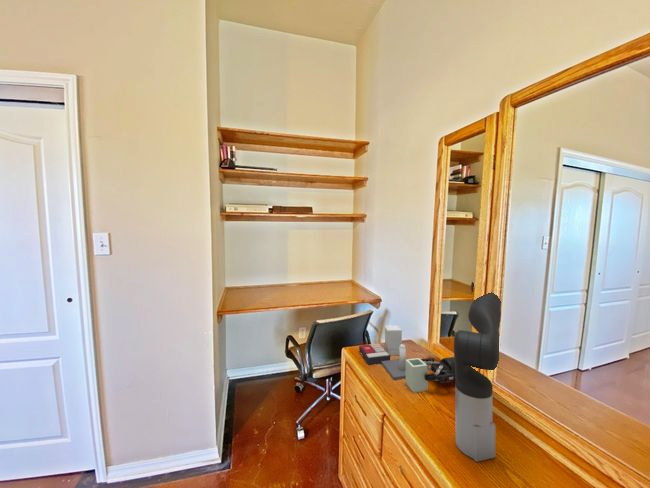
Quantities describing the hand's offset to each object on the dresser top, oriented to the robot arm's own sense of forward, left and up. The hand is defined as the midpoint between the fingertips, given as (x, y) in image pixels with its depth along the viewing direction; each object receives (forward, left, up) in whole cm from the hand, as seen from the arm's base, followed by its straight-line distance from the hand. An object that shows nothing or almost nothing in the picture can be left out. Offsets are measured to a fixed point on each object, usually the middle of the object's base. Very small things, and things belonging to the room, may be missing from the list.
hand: (419, 371), depth 106 cm
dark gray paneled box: (+28, +9, -7) cm, 30 cm away
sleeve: (0, +1, -6) cm, 6 cm away
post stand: (+13, +1, -6) cm, 15 cm away
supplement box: (+30, -3, -6) cm, 31 cm away
